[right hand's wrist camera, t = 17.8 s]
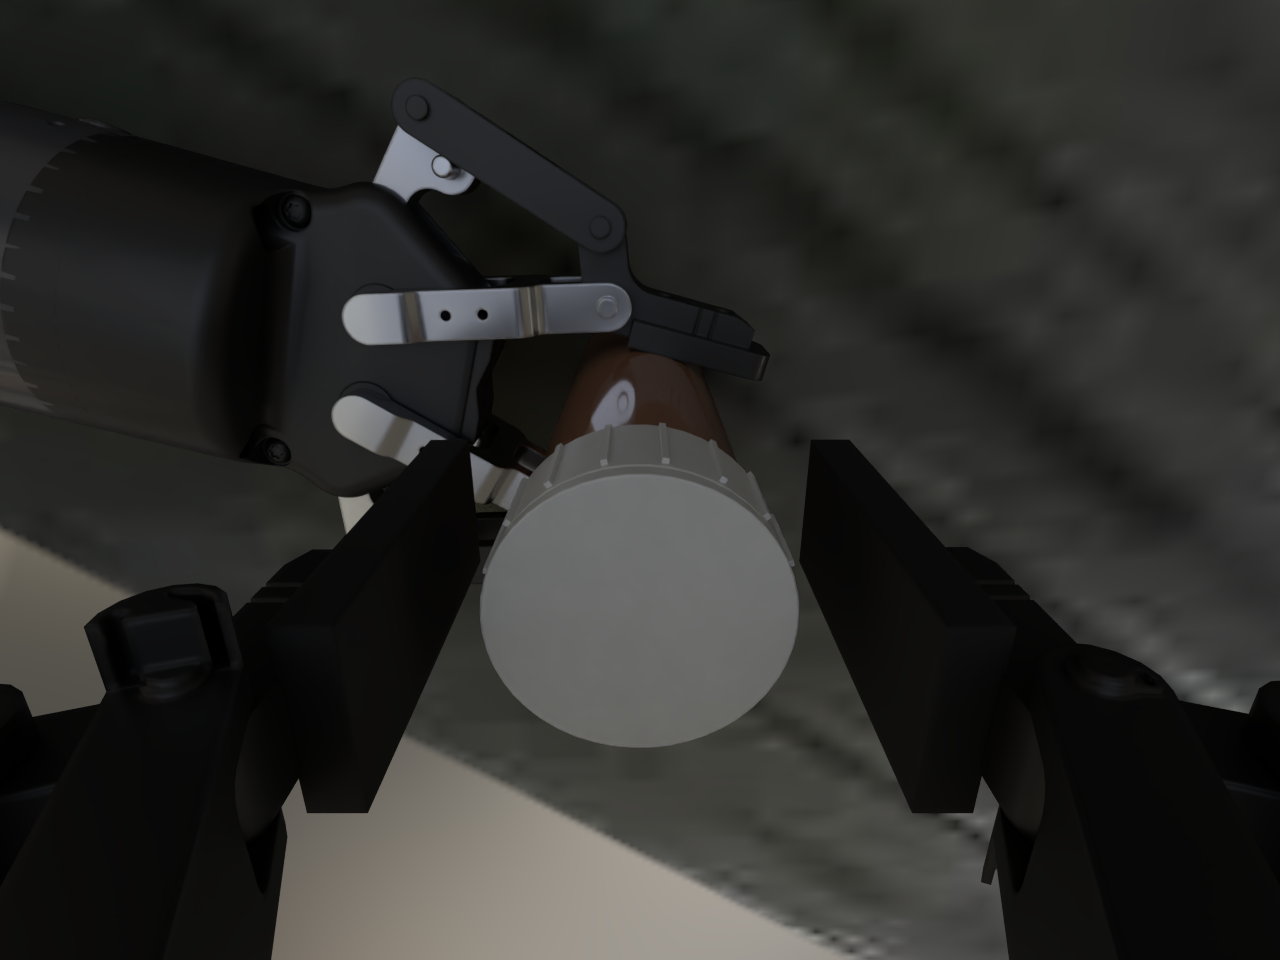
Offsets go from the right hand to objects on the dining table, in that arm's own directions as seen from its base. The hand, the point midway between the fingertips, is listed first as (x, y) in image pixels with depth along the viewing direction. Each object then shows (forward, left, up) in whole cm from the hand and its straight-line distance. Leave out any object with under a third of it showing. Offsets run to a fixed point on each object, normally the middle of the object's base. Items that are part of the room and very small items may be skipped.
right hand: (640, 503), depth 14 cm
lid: (0, 0, +4) cm, 4 cm away
